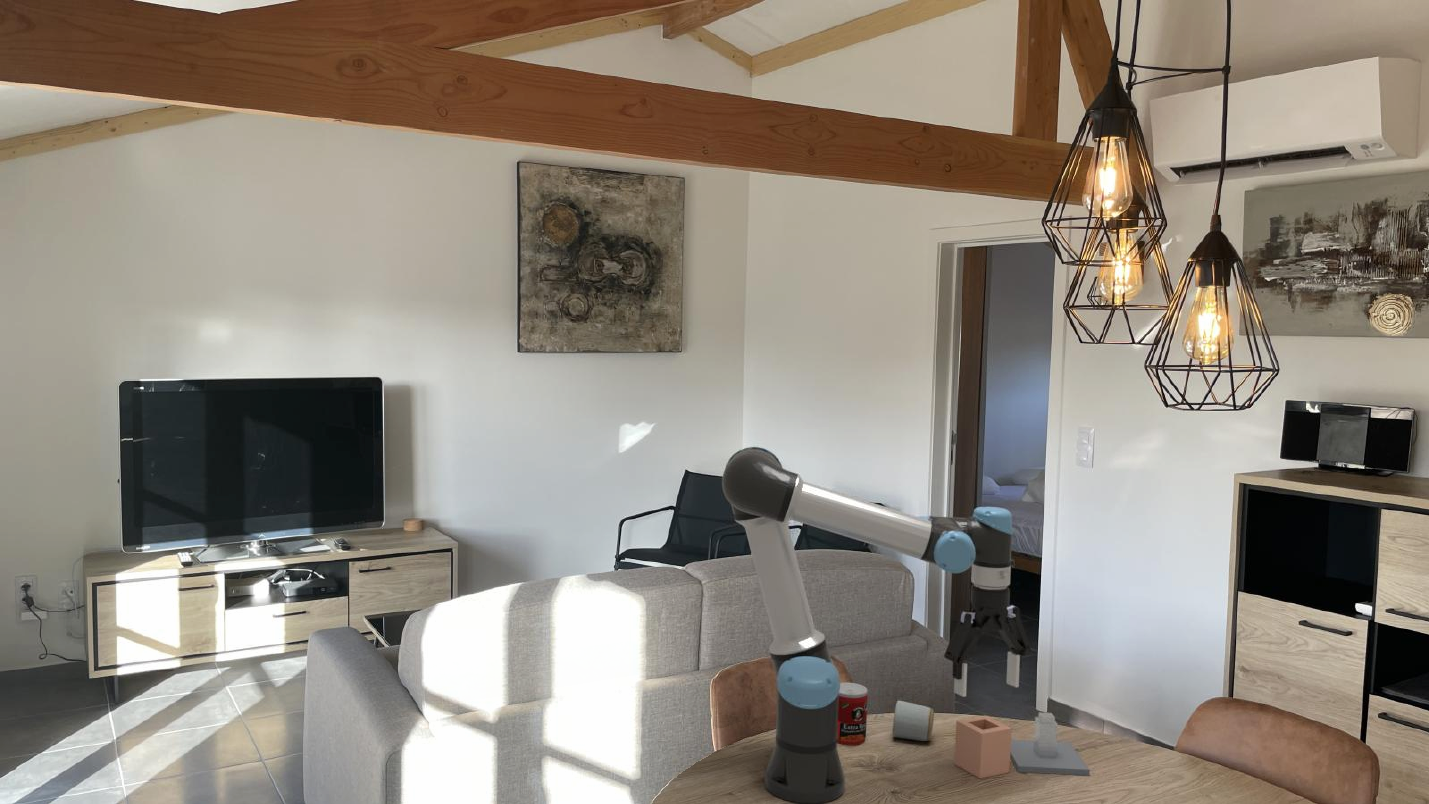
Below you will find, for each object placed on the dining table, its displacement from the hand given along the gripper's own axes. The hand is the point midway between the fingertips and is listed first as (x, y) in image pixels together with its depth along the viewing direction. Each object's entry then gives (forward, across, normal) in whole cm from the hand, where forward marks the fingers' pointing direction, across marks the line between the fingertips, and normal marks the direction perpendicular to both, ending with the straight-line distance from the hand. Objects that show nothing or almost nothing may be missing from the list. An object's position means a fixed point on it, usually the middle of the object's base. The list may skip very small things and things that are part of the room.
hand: (986, 690), depth 207 cm
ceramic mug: (+16, -3, +20) cm, 26 cm away
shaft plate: (+16, +15, -2) cm, 22 cm away
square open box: (+16, 0, 0) cm, 16 cm away
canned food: (+16, -17, +24) cm, 33 cm away
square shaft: (+15, +15, -2) cm, 21 cm away
